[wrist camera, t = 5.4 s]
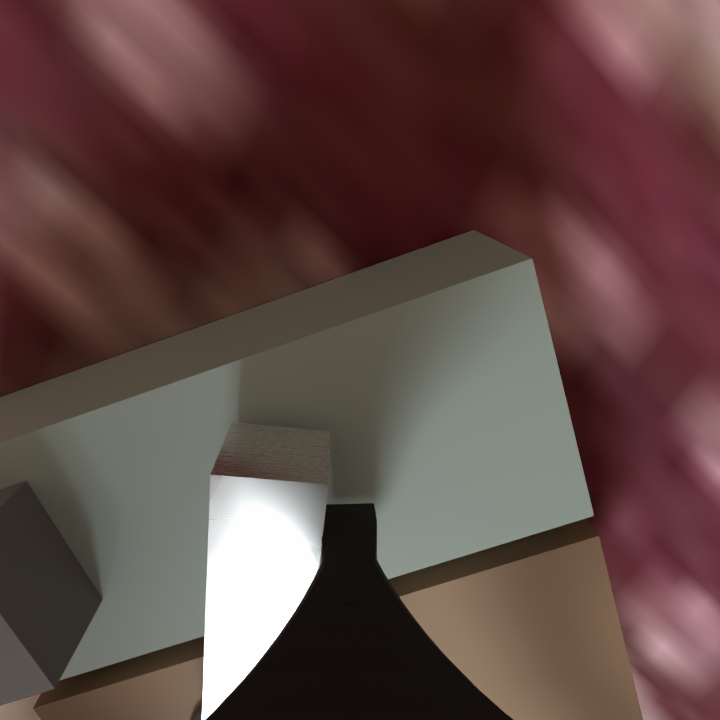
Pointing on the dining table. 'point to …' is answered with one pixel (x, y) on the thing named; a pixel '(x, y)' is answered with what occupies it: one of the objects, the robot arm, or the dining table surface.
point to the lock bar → (259, 545)
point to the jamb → (441, 639)
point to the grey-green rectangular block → (282, 409)
